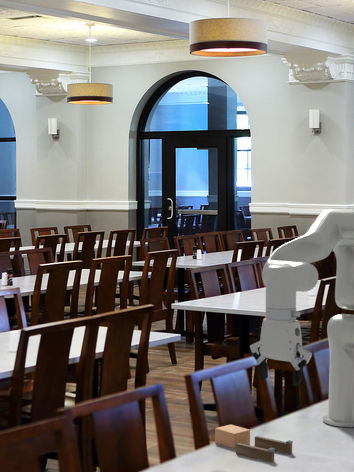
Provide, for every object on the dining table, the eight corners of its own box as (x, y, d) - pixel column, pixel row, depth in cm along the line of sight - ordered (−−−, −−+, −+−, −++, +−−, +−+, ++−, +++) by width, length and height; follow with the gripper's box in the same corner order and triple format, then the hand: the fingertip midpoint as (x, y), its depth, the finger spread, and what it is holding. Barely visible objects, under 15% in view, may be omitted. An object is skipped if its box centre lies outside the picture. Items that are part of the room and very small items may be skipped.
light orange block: (230, 439, 230) (230, 424, 230) (249, 444, 225) (250, 429, 225) (214, 443, 226) (215, 428, 226) (234, 449, 221) (234, 433, 221)
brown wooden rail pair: (257, 445, 224) (257, 433, 224) (292, 453, 218) (292, 440, 218) (235, 453, 216) (235, 441, 216) (271, 462, 210) (271, 449, 210)
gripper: (318, 315, 211) (318, 384, 212) (259, 309, 222) (258, 374, 223) (303, 320, 205) (302, 390, 206) (243, 312, 216) (242, 379, 217)
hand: (280, 382), depth 215 cm, fingers open, 9 cm apart
